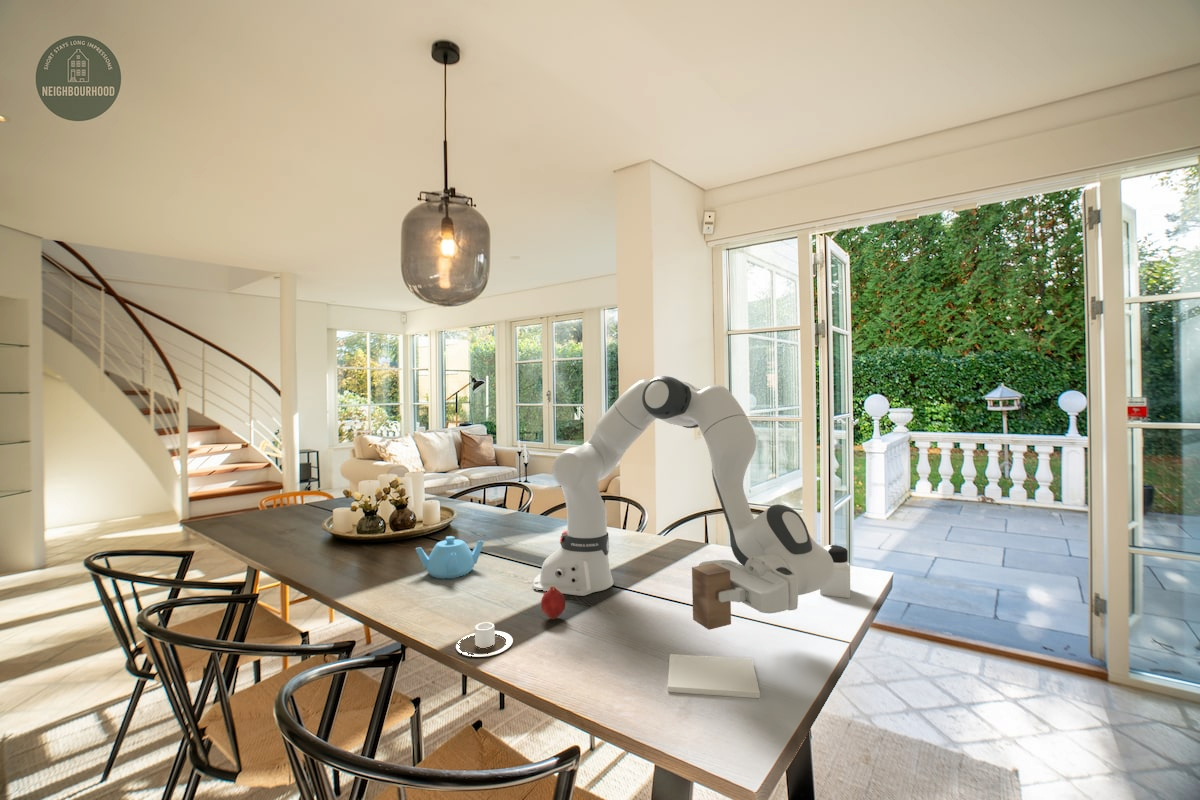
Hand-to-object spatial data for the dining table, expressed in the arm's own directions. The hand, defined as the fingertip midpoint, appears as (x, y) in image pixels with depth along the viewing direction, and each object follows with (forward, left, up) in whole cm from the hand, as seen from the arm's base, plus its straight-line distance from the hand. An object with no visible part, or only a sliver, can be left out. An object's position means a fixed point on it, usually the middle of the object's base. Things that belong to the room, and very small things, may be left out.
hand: (707, 590), depth 102 cm
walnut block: (+1, +1, -6) cm, 6 cm away
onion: (-35, +23, -17) cm, 45 cm away
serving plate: (+1, +1, -16) cm, 17 cm away
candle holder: (-47, +8, -17) cm, 51 cm away
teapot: (-74, +52, -17) cm, 92 cm away
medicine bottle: (+35, +48, -17) cm, 61 cm away
